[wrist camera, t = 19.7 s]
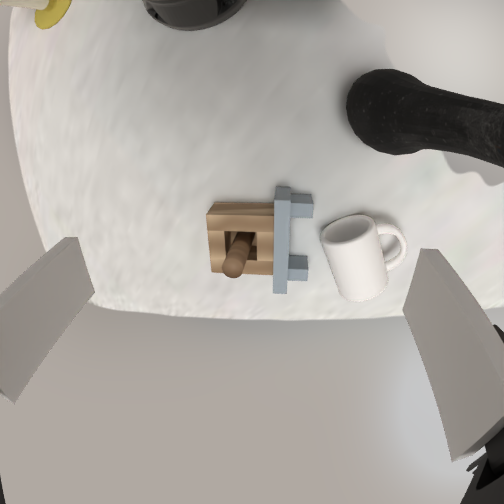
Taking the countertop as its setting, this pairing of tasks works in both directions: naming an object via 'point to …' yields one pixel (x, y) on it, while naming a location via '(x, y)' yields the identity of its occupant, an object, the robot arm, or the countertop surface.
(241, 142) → the countertop surface
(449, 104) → the bottle
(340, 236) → the mug
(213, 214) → the block
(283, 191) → the backstop wall
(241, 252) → the dowel
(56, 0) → the candle
